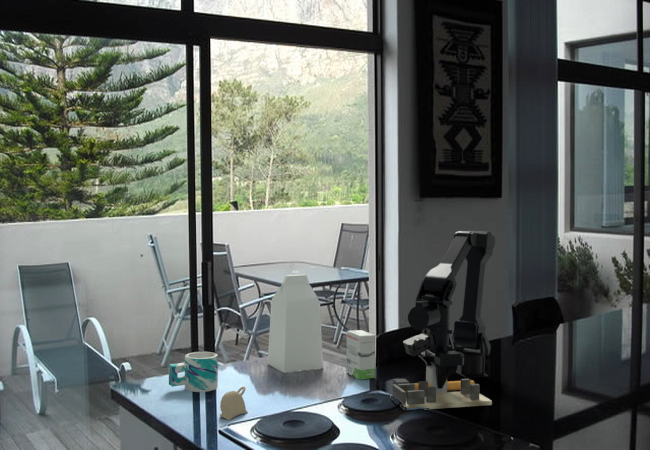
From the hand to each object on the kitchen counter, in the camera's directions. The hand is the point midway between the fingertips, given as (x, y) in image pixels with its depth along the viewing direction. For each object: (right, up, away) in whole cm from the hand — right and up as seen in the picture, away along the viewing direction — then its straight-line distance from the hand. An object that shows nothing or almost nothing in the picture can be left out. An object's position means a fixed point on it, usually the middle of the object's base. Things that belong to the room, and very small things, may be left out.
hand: (436, 386), depth 184 cm
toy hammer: (0, -1, 0) cm, 1 cm away
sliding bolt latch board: (0, -2, -10) cm, 10 cm away
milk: (-36, 0, +25) cm, 44 cm away
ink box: (-18, -1, +15) cm, 24 cm away
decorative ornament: (-48, -2, -21) cm, 53 cm away
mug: (-61, -1, -1) cm, 61 cm away
